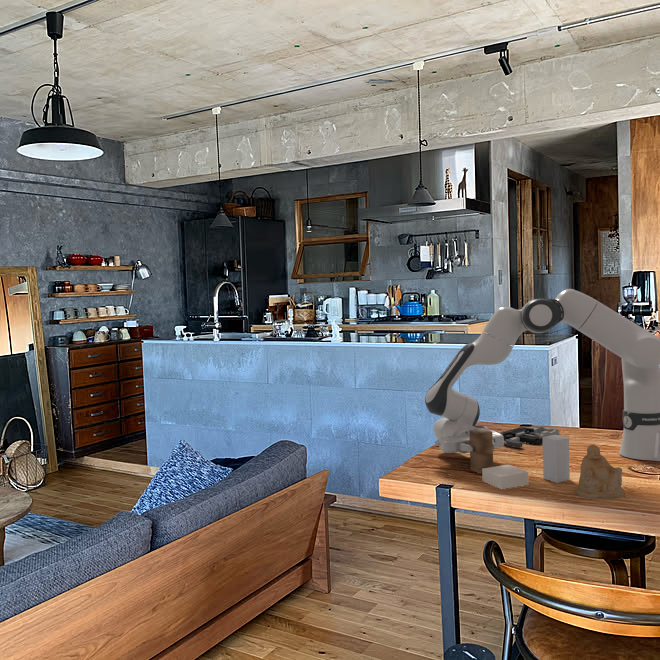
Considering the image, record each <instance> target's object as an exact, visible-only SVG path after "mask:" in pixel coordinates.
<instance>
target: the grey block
mask: <svg viewBox="0 0 660 660" xmlns="http://www.w3.org/2000/svg"><path fill="white" fill-rule="evenodd" d="M542 470H543V471H542V472H543V476H542V477H543V480H547V481H549V480H550V482H553V483H557V484H558V483H561V482H565V481H570V480H571V477H570V473H571V472H570V471H571V470H570V437H567V436H563V435H560V434H559V435H551V436H546V437H543V443H542ZM569 479H570V480H569Z"/></svg>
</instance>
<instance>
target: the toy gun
mask: <svg viewBox="0 0 660 660" xmlns="http://www.w3.org/2000/svg"><path fill="white" fill-rule="evenodd" d="M499 433H500V434H502V435H503V437H504V445H505V446H509V447H514V448H517V449H520V448H523V444H524V443H525V442H527V444H526V445H530V444H529V443H532V445H534V444H535V443H536V444H539V445H540V444H543V437H546V436H551V435H559V436H560V430H559V429H558V428H556V427H551V428H548V427H545V426H541V425H535V424H532V426H530V427H527V426H519V427H516V428H511V429H509V430H504V431H502V432H499ZM536 444H535V445H536Z"/></svg>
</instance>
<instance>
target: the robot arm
mask: <svg viewBox="0 0 660 660" xmlns="http://www.w3.org/2000/svg"><path fill="white" fill-rule="evenodd" d="M559 323H565V324H567V325H569V326H570V327H572V328H574V329H575V330H576V331H578V332H580V333H582V334H583V335H585V336H586V337H588V338H590V340H593V341H594V342H596V343H597V344H599V345H601V346H603V347H604V348H605V349H607V350H608V351H610V352H611V353H612V354H614V355H616V356H618V357H619V358H621V369H622V381H623V382H622V383H623V409H622V424H623V431H622V432H623V433H622V439H621V444H620V449H619V451H618V454H619V455H621V456H622V457H625V458H629V459H635V460H642V461H655V462H660V337H658V336H656V334H653V333H652V332H650V331H649V330H647V329H645V328H644V327H642V326H640V325H638V324H637V323H635V322H633V321H632V320H630V319H628V318H626V317H625V316H623V315H621V314H620V313H618V312H616V311H615V310H613V309H612V308H610V307H608V306H607V305H606V304H604V303H602V302H601V301H599V300H597V299H595V298H593V297H591V296H590V295H588V294H585V293H583V292H582V291H579V290H576V289H574V288H566V289H564V290H563V291H560V293H558V294H557V296H556V297H555V298H535V299H531V300H529V301H528V302H527V303H525V305H523V306H522V307H521V308H520V309H516V308H513V307H510V306H500V307H498V308H497V309H496V311H495V312H494V313H493V314H492V316H491V317H490V318H489V320H488V322H487V323H486V324H485V327H484V329H483V330H482V333H481V334H480V335H479V336H478V338H476V339H475V340H474V341H473V342H469V343H466V344H465V345H464V346H463V347H461V349H460V350H459V351H458V352H457V354H456V355H455V357H453V359H452V360H451V362H450V363H449V364H448V366H447V367H446V369H445V371H443V373H442V374H441V375H440V377H439V378H438V380H437V381H436V382H435V383H434V384H433V385H432V386H431V387H430V388H429V389H428V391H427V392H426V394H425V397H424V402H425V406H426V409H427V410H428V412H429V413H430V414H434V415H435V416H436V415H437V416H439V417H441V418H439V419H436V421H435V422H434V424H433V427H432V428H433V430H432V431H433V435H434V437H435V438H436V439H437V440H435V441H433V442H434V445H436V446H438V447H439V450H440V451H442V452H443V453H445V454H452V453H460V454H467V453H470V452H474V446H472V445H470V432H469V430H478V429H486V430H489V431H491V432H492V436H493V450H496V449H498V448H503V447H504V445H505V444H504V437H503V435H502V434H500V433H501V432H498V431H495V430H493V429H489V426H484V425H477V423H478V421H479V418H480V414H481V411H480V405H479V402H478V400H477V399H475V398H474V397H471V396H469V395H467V394H465V393H463V392H462V393H461V392H460V391H457V390H455V389H454V388H453V386H454V385H455V383H457V381H458V380H459V379H460V377H461V375H462V374H463V373H464V372H465V370H466V369H468V368H469V367H471V366H476V365H482V366H495V365H499V364H501V363H503V362H504V361H506V360H507V359H508V357H509V355H510V354H511V353H512V350H513V348H514V346H515V345H516V342H517V340H518V339H519V337H520V336H521V335H522V334H523V333H525V332H531V333H533V334H534V333H535V334H545V333H547V332H549V331H551V329H553V328H555V327H556V326H557V325H558V324H559Z"/></svg>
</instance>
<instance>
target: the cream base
mask: <svg viewBox="0 0 660 660" xmlns="http://www.w3.org/2000/svg"><path fill="white" fill-rule="evenodd" d="M481 474H482V476H481V477H482V482H483V481H484V482H483V483H485V482H486V483H485V484H487V483H488V485H489V484H490V486H492V485H493V486H492V487H494V486H495V487H494V488H496V487H497V488H496V489H498V488H499V489H498V490H500V489H504V490H506V489H505V488H509V489H512V488H511V487H515V488H518V487H517V486H521V487H523V486H522V485H527V486H529V485H530V484H529V480H530V479H529V471H526V470H523V469H522V468H519V467H516V466H514V465H511V464H504V465H496V466H493V467H490V468H483V469H482V473H481ZM528 484H529V485H528Z"/></svg>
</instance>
